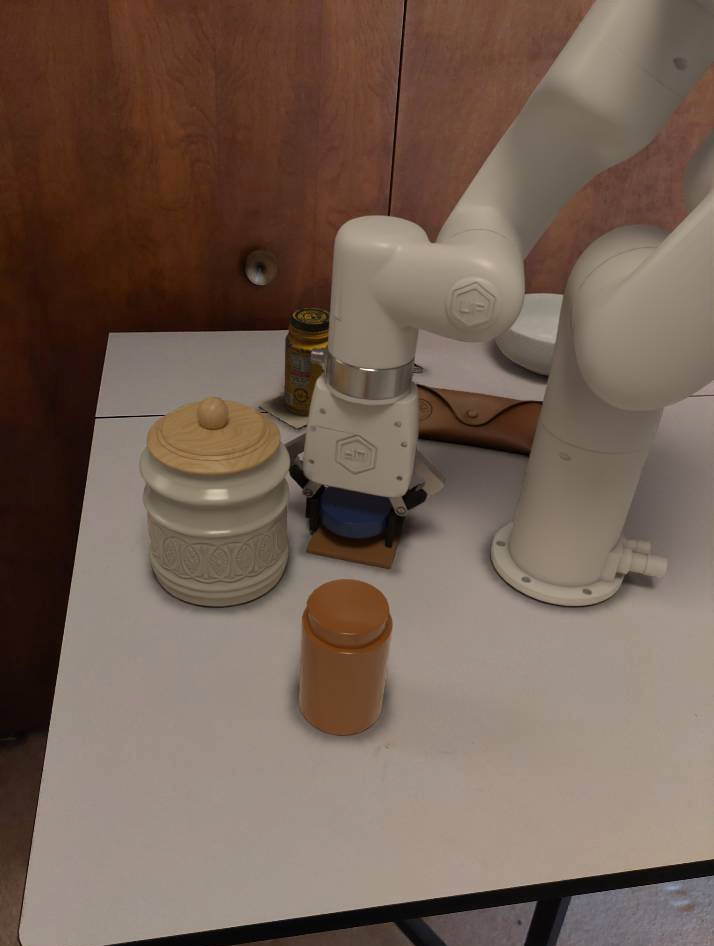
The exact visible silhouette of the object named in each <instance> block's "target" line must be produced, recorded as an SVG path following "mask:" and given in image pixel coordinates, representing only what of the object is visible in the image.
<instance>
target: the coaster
mask: <svg viewBox="0 0 714 946" xmlns="http://www.w3.org/2000/svg"><path fill="white" fill-rule="evenodd" d="M406 520H407V516H406V517H405V521H406ZM386 532H387V528H386V529H385V530H384V531H383V532H381V533H380V534H378V535H375V536H372V537H368V538H348V537H344V536H341V535H338V534H336V533H334V532H332V531H330V530H329V529H328V528H326V527H325V526H324V524H323V523H322V521H321V523H320V525H319V527H318V529H317V531H315V532H312V533H313V534H312V536H311V538H310V540H309V543H308V544H307V546H306V549H305V552H306V553H308V554H314V555H318V556H322V557H328V558H332V559H337V560H343V561H348V562H353V563H357V564H362V565H367V566H373V567H378V568H383V569H387V570H391V568H392V566H393V561H394V558H395V556H396V551H397V548H398V545H399V542H400V539H401V537H398V536H395V539H394V542H393V545H392V548H391V547H387V545H385V539H386Z"/></svg>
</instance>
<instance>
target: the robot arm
mask: <svg viewBox="0 0 714 946" xmlns="http://www.w3.org/2000/svg"><path fill="white" fill-rule="evenodd" d="M713 63H714V0H594V2H593V3H592V5H591V6H590V8H589V10H588V11H587V12H586V14H585V16H584V17H583V18H582V20H581V21H580V23H579V24H578V25H577V28H576V29H575V30H574V32H573V33H572V35H571V36H570V38H569V39H568V41H567V42H566V44H565V45H564V46H563V48H562V49H561V51H560V52H559V54H558V55H557V57H556V58H555V60H554V61H553V63H552V64H551V65H550V67H549V69H548V71H546V73H545V74H544V76H543V77H542V79H541V80H540V82H539V83H538V84H537V86H536V87H535V88H534V90H533V91H532V92H531V94H530V96H529V98H528V99H527V100H526V102H525V104H524V105H523V107H522V109H521V110H520V112H519V113H518V115H517V116H516V118H515V119H514V120H513V121H512V123H511V124H510V126H509V127H508V129H507V130H506V131H505V132H504V134H503V135H502V137H501V138H500V139H499V141H498V142H497V143H496V145H495V147H494V148H493V149H492V151H491V153H490V154H489V155H488V156H487V158H486V160H485V161H484V162H483V164H482V166H481V167H480V169H478V172H477V173H476V174H475V176H474V178H473V179H472V181H471V183H469V185H468V187H467V188H466V190H465V191H464V193H463V194H462V196H461V197H460V199H459V200H458V202H457V203H456V205H455V206H454V207H453V209H452V211H451V212H450V214H449V216H448V217H447V219H446V220H445V222H444V224H443V225H442V227H441V229H440V231H439V232H438V235H437V237H436V240H435V242H431V241H430V240H429V237H428V235H427V233H426V231H425V230H424V228H422V227H421V226H420V225H419V224H417V223H415V222H413V221H410V220H409V219H405V218H402V217H397V216H391V215H364V216H359V217H355V218H352V219H349V220H347V221H346V222H345V223H343V224H342V225H341V227H340V228H339V229H338V231H337V233H336V235H335V238H334V244H333V245H334V246H333V255H332V256H333V258H332V273H331V287H330V288H331V289H330V307H329V308H330V309H329V313H330V321H329V335H328V345H327V346H326V347H325V348H323V347H322V348H321V349H319V348H313V349H312V352H311V363H315V364H318V365H319V366H322V367H323V370H324V373H323V374H322V375H321V376H320V377H319V378H318V379H317V381H316V384H315V388H314V391H313V396H312V400H311V405H310V410H309V416H308V423H307V425H306V430H305V432H304V433H302V434H301V435H299V436H297V437H295V438H293V439H291V440H289V441H288V442H286V443H283V444H284V446H285V447H286V449H287V451H288V453H289V456H290V467H289V471H288V474H289V476H290V478H291V479H292V480H293V481H294V482H295V483H296V484H297V486H299V487H300V488H301V493H302V495H303V496H304V497H305V509H304V510H305V511H304V517H305V518H306V519H309V527H308V529H309V530H308V531H309V532H312V533H314V532H315V531H317V529H318V527H319V525H320V523H321V519H320V514H319V504H320V499H321V496H322V493H323V492H324V490H325V489H326V486H327V487H329V486H331V487H335V488H341V489H346V490H351V491H356V492H361V493H366V494H372V495H377V496H383V497H389V499H390V502H391V504H392V507H391V510H390V513H389V517H388V524H387V532H386V539H385V545H387V547H391V548H392V545H393V542H394V539H395V536H398V537H400V538H402V537H403V534H404V529H405V523H406V520H405V517H406V518H407V516H406V515H407V514H408V513H409V511H411V510H413V509H414V508H417V507H418V506H420V505H421V504H423V503H425V502H426V501H427V499H429V497H432V496H434V495H435V494H437V493H438V492H440V491H441V490H443V488H444V486H445V483H446V476H445V474H443V473H442V472H441V471H440V470H439V469H438V468H437V467H436V466H435V465H434V464H433V462H432V461H431V460H429V459H428V458H427V457H426V456H425V455H424V454H423V453H422V452H421V450H419V448H418V447H419V444H418V443H419V437H418V433H419V397H418V388H417V385H416V384H415V382H414V380H413V376H414V375H413V374H414V368H415V367H414V363H415V361H416V353H417V348H418V347H417V346H418V339H419V332H420V330H421V331H424V332H428V333H431V334H434V335H437V336H440V337H442V338H446V339H450V340H452V341H453V340H454V341H457V342H464V343H485V342H488V341H492V340H495V338H497V337H499V336H501V335H502V334H504V333H505V332H506V331H507V330H509V329H510V328H511V327H512V325H513V324H514V323H515V322H516V320H517V318H518V317H519V315H520V312H521V310H522V307H523V303H524V297H525V294H526V292H525V291H526V282H525V263H524V262H525V260H526V259H527V257H528V255H529V253H530V252H531V251H532V250H533V248H534V247H535V246H536V244H537V243H538V242H539V240H540V239H541V237H542V236H543V235H544V234H545V232H546V231H547V230H548V228H549V227H550V226H551V224H552V223H553V222H554V221H555V219H556V218H557V216H558V215H559V214H560V213H561V212H562V210H563V209H564V208H565V207H566V205H567V204H569V202H570V201H571V200H572V199H573V198H574V196H576V194H577V193H579V191H580V190H582V188H584V186H586V185H587V184H588V183H589V182H591V180H593V179H594V178H595V177H597V176H598V175H600V174H601V173H602V172H605V171H606V170H608V169H610V168H612V167H614V166H616V165H619V164H621V163H623V162H626V161H627V160H628V159H631V158H632V157H634V156H635V155H636V154H638V153H640V152H641V151H642V150H643V149H645V148H646V147H647V146H649V145H650V143H651V142H652V141H653V140H654V139H655V138H656V137H657V136H658V135H659V133H660V132H661V131H662V130H663V128H664V127H665V125H666V124H667V123H668V122H669V120H670V119H671V118H672V116H673V115H674V114H675V112H676V111H677V110H678V109H679V107H680V106H681V104H683V102H684V101H685V100H686V98H687V97H688V95H689V94H690V93H691V92H692V90H693V89H694V88H695V86H696V85H697V84H698V83H699V82H700V80H701V79H702V78H703V76H704V75H705V74H706V73H707V71H708V70H709V69H710V67H711V66H712V65H713ZM682 197H683V202H684V207H685V209H686V211H687V214H688V215H687V216H686V217H685V218H684V219H683V220H682V221H681V222H680V223H679V224H678V225H677V226H676V227H675V229H674V230H672V231H671V232H670V231H668V230H666V229H663V228H661V227H659V226H655V225H651V224H641V223H639V224H637V223H636V224H627V225H624V226H619V227H617V228H614V229H611V230H610V231H608V232H606V233H603V234H602V235H601V236H599V237H598V238H596V239H595V240H593V242H592V243H590V245H588V246H587V248H586V249H585V250H583V252H582V253H581V255H580V256H578V259H577V260H576V262H575V263H574V265H573V266H572V267H573V268H572V269H571V271H570V272H569V276H568V279H567V281H566V284H565V288H564V290H563V291H564V292H563V294H562V295H563V301H562V306H561V311H560V317H559V323H558V330H557V336H556V342H555V348H554V353H553V358H552V363H551V368H550V373H549V376H548V378H547V383H546V387H545V391H544V396H543V400H542V402H543V404H542V408H541V412H540V415H539V419H538V423H537V427H536V432H535V436H534V440H533V444H532V448H531V453H530V454H529V456H528V461H527V466H526V470H525V473H524V478H523V483H522V487H521V490H520V494H519V498H518V503H517V508H516V512H515V516H514V520H513V521H511V522H507V523H506V524H505V525H504V526H501V528H499V529H498V531H497V532H496V533H495V535H494V537H493V539H492V543H491V548H490V559H491V561H492V565H493V567H494V568H495V570H496V572H497V573H498V575H499V576H500V577H501V578H502V579H503V580H504V581H505V582H506V583H507V584H509V585H510V586H511V587H513V588H514V589H515V590H517V591H519V592H521V593H522V594H523V595H526V596H528V597H530V598H533V599H535V600H538V601H541V602H544V603H548V604H551V605H552V604H553V605H558V606H566V607H581V606H591V605H595V604H598V603H601V602H604V601H606V600H607V599H610V598H611V597H613V596H614V595H615V594H616V593H617V592H618V591H619V589H620V587H621V586H622V584H623V580H624V578H625V575H627V574H628V573H629V572H634V573H640V574H642V575H646V576H652V577H656V578H662V579H663V578H664V577H665V575H666V573H667V569H668V562H669V561H668V560H669V559H668V557H665V556H661V555H655V554H651V551H652V542H651V541H647V540H642V539H632V538H628V537H627V536H626V534H623V531H622V530H623V528H624V525H625V522H626V519H627V516H628V513H629V510H630V509H631V508H630V507H631V505H632V502H633V499H634V496H635V493H636V490H637V488H638V484H639V481H640V478H641V476H642V474H643V469H644V467H645V464H646V461H647V459H648V457H649V453H650V450H651V447H652V444H653V441H654V439H655V437H656V434H657V431H658V429H659V425H660V422H661V419H662V416H663V413H664V409H665V408H666V407H669V406H672V405H674V404H678V403H679V402H682V401H684V400H685V399H688V398H689V397H690V396H693V395H694V394H696V393H698V392H699V391H701V390H702V389H703V388H705V387H706V386H708V385H709V384H711V383H712V382H713V381H714V127H713V128H712V129H711V130H710V131H709V132H708V133H707V134H706V135H705V136H704V138H702V139H701V141H700V142H699V144H698V145H697V146H696V148H695V150H694V151H693V153H692V154H691V156H690V158H689V159H688V162H687V163H686V167H685V170H684V173H683V178H682ZM300 454H303V457H302V460H301V459H300V457H299V455H300ZM414 472H415V473H416V474H417V475H418V476H419V477H420V478H421V479H422V480H423V482H421V483H418V484H416V485H415V486H412V487H411V488H410V485H411V481H412V478H413V474H414Z"/></svg>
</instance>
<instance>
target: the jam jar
mask: <svg viewBox="0 0 714 946" xmlns="http://www.w3.org/2000/svg"><path fill="white" fill-rule="evenodd" d="M391 615H392V614H391V613H390V605H389V602H388V599H387V598H386V596H385V595H384V593H383V592H382V591H380V589H378V588H377V587H375V586H374V585H373V584H370V583H368V582H365V581H362V580H358V579H352V578H351V579H350V578H342V579H334V580H330V581H327V582H325V583H323V584H321V585H319V586H318V587H316V588H315V589H314V590H313V591H312V592H311V593H310V594H309V595H308V598H307V600H306V607H305V608H304V610H303V612H302V616H301V635H300V637H301V638H300V661H299V662H300V664H299V687H298V688H299V691H298V692H299V693H298V704H299V709H300V712H301V714H302V716H303V717H304V719H305V720H306V721H307V722H308V723H309V724H310V725H311V726H312V727H314V728H315V729H317V730H319V731H321V732H324V733H326V734H330V735H335V736H350V735H356V734H359V733H362V732H364V731H366V730H368V729H369V728H370V727H372V726H373V725H374V724H375V723H376V721H377V720H378V719H379V717H380V715H381V713H382V709H383V701H384V693H385V686H386V678H387V672H388V664H389V657H390V650H391V641H392V635H393V628H394V627H393V626H394V625H393V618H392V616H391Z"/></svg>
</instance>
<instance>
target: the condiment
mask: <svg viewBox="0 0 714 946" xmlns="http://www.w3.org/2000/svg"><path fill="white" fill-rule="evenodd" d="M329 321H330V311H328V310H324V309H323V308H322V309H321V308H317V307H304V308H298V309H296V310H293V311H292V312H290V314H289V317H288V323H289V325H288V332H287V334H286V336H285V342H284V390H283V392H284V393H283V394H282V395H279V396H276V397H275V398H272V399H270V400H268V401H263V402H261V403H259V404H257V406H258V407H260V408H261V409H262V410H264V411H265V412H267V413H269V414H270V415H272V416H274V417H276V418H277V419H279V421H283V422H285V423H286V424H288V425H289V426H291V427H293V428H296V429H300V428H302V427H304V426H307V423H308V416H309V410H310V405H311V400H312V396H313V391H314V388H315V384H316V381H317V379H318V378H319V377H320V376H321V375H322V374H323V373H324V370H323V367H322V366H319V365H318V364H315V363H311V352H312V349H313V348H319V349H321V348H322V347H323V348H325V347H326V346H327V345H328V335H329Z"/></svg>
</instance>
